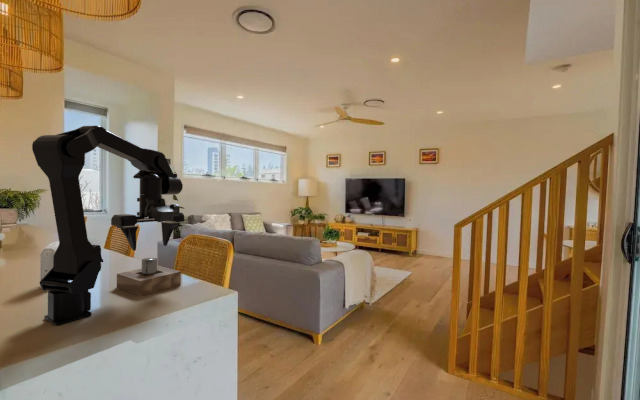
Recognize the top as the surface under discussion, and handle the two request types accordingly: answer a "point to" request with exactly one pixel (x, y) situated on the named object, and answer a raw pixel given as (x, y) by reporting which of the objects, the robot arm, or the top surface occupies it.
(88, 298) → the robot arm
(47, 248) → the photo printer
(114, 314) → the top surface
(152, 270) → the grey metal cylinder
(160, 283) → the socket block
